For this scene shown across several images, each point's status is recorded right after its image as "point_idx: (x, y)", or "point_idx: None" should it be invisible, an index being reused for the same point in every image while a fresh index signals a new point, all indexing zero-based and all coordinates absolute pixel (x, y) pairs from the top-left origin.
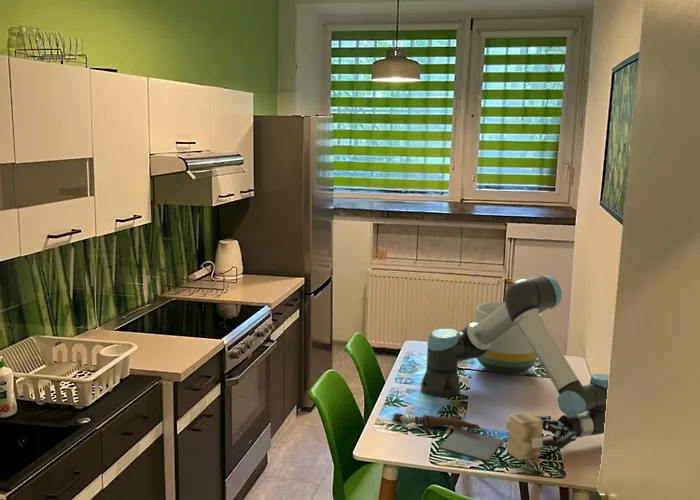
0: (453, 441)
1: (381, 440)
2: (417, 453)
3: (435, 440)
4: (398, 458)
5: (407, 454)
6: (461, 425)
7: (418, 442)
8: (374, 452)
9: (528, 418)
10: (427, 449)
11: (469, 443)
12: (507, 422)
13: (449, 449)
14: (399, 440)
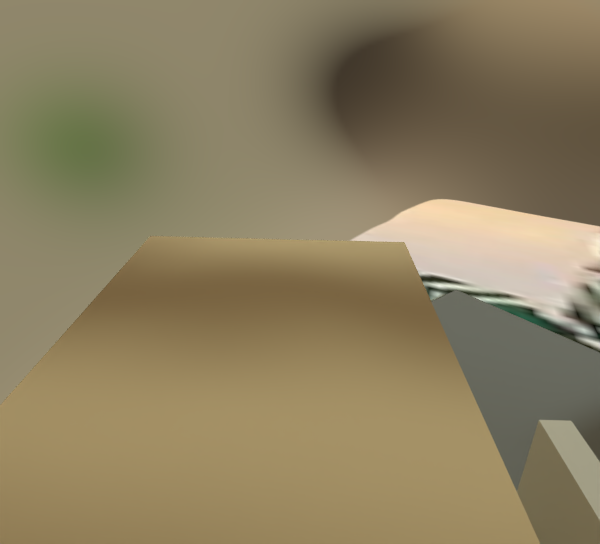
0: (516, 339)
1: (518, 227)
2: (417, 252)
3: (538, 310)
4: (391, 224)
5: (414, 238)
6: None
7: (510, 272)
8: (436, 209)
9: (216, 342)
10: (446, 273)
11: (494, 384)
12: (540, 427)
13: None
14: (523, 248)
